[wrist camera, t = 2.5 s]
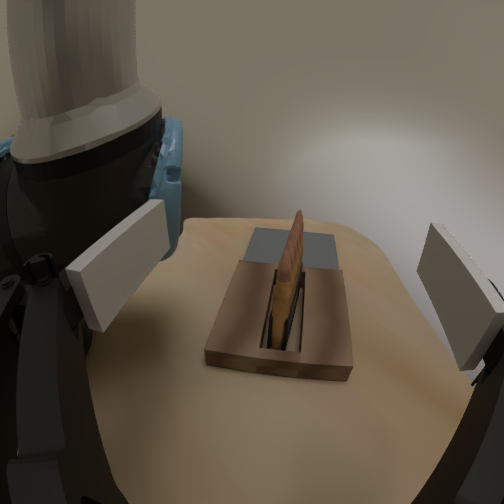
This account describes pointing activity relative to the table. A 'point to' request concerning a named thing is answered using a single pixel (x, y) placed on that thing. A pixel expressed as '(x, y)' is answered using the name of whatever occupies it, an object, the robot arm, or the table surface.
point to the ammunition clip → (286, 288)
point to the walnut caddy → (255, 318)
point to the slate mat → (274, 240)
